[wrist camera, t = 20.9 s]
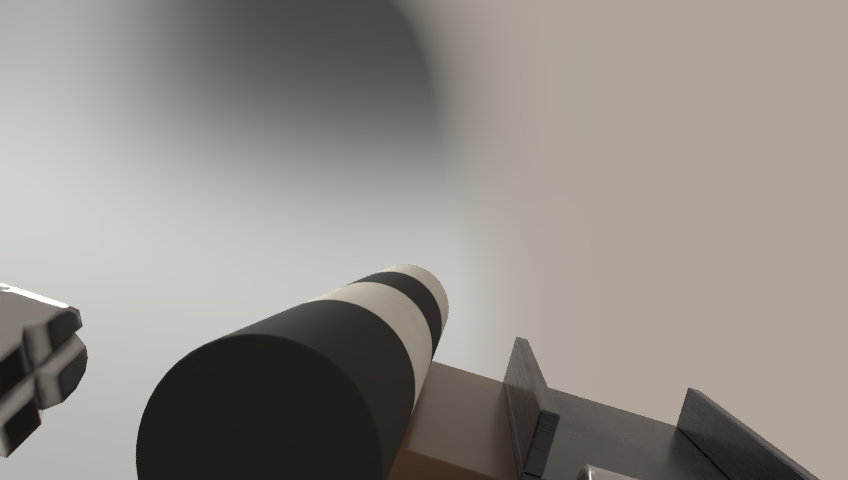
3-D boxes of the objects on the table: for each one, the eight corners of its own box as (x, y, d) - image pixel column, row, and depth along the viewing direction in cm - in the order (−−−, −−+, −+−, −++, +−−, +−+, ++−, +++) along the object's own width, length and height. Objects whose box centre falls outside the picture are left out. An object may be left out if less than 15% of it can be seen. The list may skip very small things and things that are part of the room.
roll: (403, 573, 10) (358, 315, 10) (157, 603, 10) (114, 355, 10) (455, 343, 30) (440, 257, 30) (370, 356, 30) (355, 272, 30)
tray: (518, 485, 18) (541, 409, 18) (502, 381, 30) (516, 336, 30) (831, 584, 17) (856, 505, 17) (685, 437, 29) (699, 390, 29)
